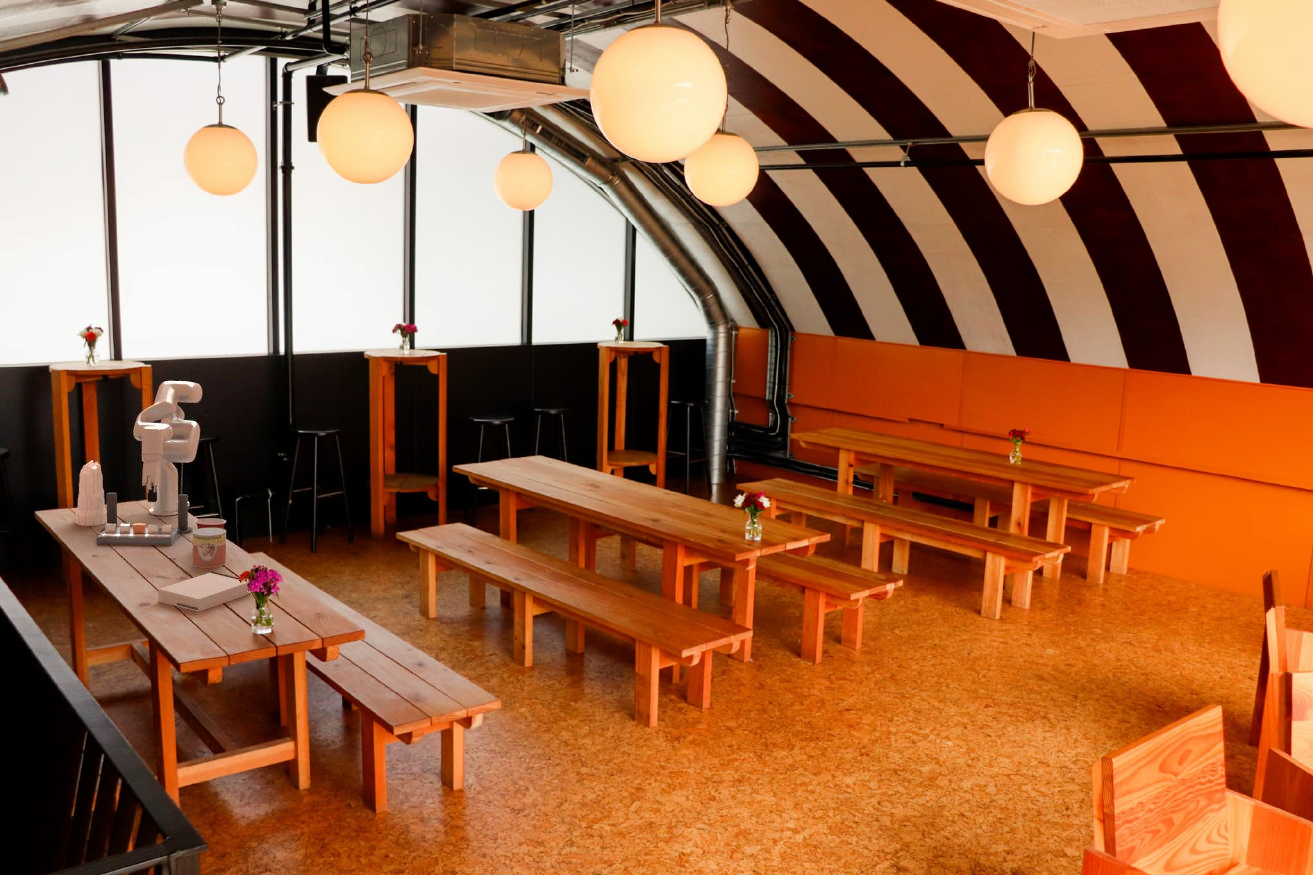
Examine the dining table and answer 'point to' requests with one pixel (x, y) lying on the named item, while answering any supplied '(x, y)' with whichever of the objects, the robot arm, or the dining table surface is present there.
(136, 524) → the block
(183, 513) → the post
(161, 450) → the robot arm
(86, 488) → the white ridged tapered column
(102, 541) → the breaker panel
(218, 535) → the canned food
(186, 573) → the dining table surface
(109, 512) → the knob
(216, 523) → the plastic cup
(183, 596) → the disc drive
